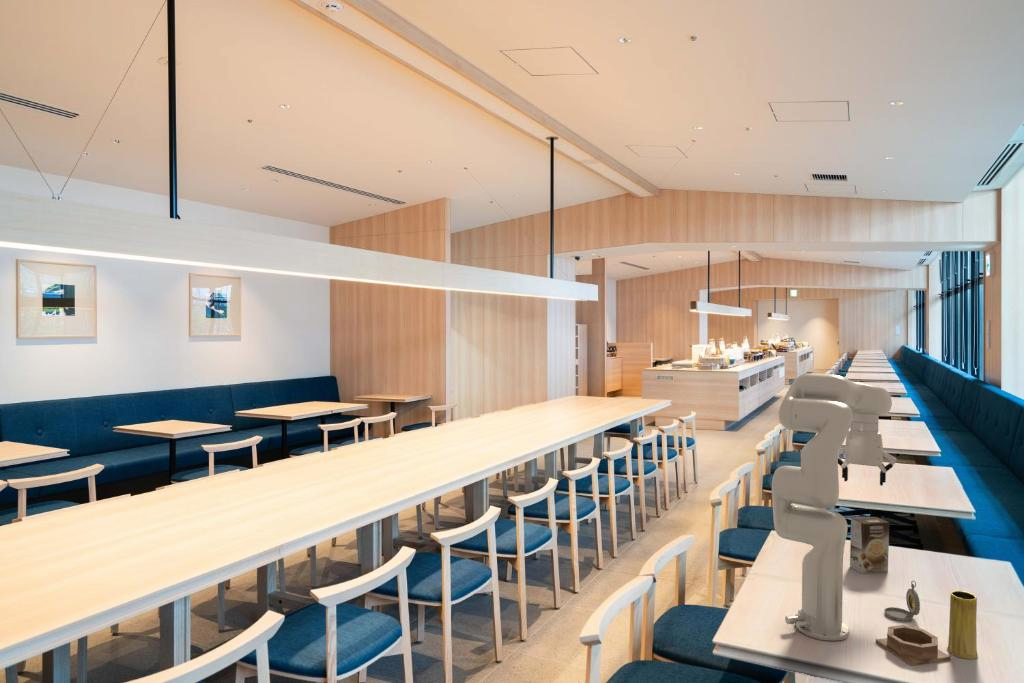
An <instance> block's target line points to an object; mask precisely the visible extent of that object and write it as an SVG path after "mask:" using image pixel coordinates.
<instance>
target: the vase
mask: <svg viewBox="0 0 1024 683" xmlns="http://www.w3.org/2000/svg"><path fill="white" fill-rule="evenodd" d="M949 599H950V600H949V601H950V602H949V604H950V605H949V623H948V625H949V626H948V627H949V628H948V629H949V630H948V642H947V647H946V650H947V651H948V652H949V653H950V654H951V655H953V656H955V657H957V658H961V659H966V660H974V659H976V658H978V656H979V654H978V650H977V649H978V648H977V642H978V641H977V638H978V637H977V636H978V635H977V608H978V606H977V605H978V603H977V602H978V597H977V596H976V595H975V594H973V593H970V592H968V591H964V590H963V591H962V590H952V591H951V592H950V597H949Z"/></svg>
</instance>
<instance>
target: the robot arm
mask: <svg viewBox="0 0 1024 683" xmlns="http://www.w3.org/2000/svg"><path fill="white" fill-rule="evenodd" d="M892 401H893V400H892V396H891V394H890V392H889V391H888V390H886V389H885V388H884V387H880V386H877V385H876V386H875V385H870V384H865V383H861V382H856V381H852V380H850V379H849V378H846V377H845V376H841V375H837V374H827V373H825V374H823V373H806V372H805V373H802V374H799V375H798V376H797V377H796V378H795V379H794V380H793V381H792V382H791V385H790V386H789V388H788V390H787V392H786V394H785V396H784V398H783V400H781V403H780V406H779V410H778V420H779V422H780V424H781V426H782V427H783V428H785V429H787V430H790V431H797V432H805V433H806V432H807V433H816V434H815V435H813V437H812V438H811V439H809V440H808V441H807V443H805V445H804V446H803V447H802V449H801V451H800V466H796V465H795V466H793V465H780V466H778V467H777V468H776V469H775V471H774V473H773V476H772V480H771V501H772V514H773V524H774V525H773V526H774V531H775V533H776V534H777V536H778V537H780V538H782V539H785V540H789V541H793V542H798V543H803V544H807V545H809V546H812V549H810V550H809V551H808V552H807V553H806V554H805V555H804V556H803V558H802V561H801V562H802V563H801V569H802V570H801V574H802V575H801V609H800V608H799V609H798V610H797V613H796V614H795V615H787V616H785V618H784V621H785V623H786V624H787V625H793V624H795V625H794V626H795V627H796V629H797V630H798V631H799V632H800V633H802V634H804V635H806V636H808V637H810V638H814V639H816V640H817V639H818V640H821V641H831V642H832V641H841V640H845V639H846V638H848V636H849V635H850V633H849V632H850V631H849V630H850V629H849V627H848V626H847V624H845V623H844V622H843V590H844V589H843V585H844V583H843V582H844V580H843V579H844V574H843V572H844V555H845V554H844V552H845V545H846V542H847V541H846V540H847V535H848V522H847V520H846V517H844V516H843V515H842V514H840V513H838V512H837V511H834V510H830V509H831V508H833V507H834V506H836V505H837V504H838V502H839V499H840V497H839V496H840V484H839V483H840V482H839V480H840V478H839V466H840V468H841V470H842V471H841V472H842V474H841V477H842V478H843V479H844V480H843V481H844V482H848V480H849V467H848V466H849V464H850V465H858V466H867V467H868V466H869V467H877V468H879V470H880V471H879V486H881V487H882V486H883V485H884V483H886V479H887V478H886V477H887V476H886V475H887V474H886V473H887V472H888V471H889V470H890V469H892V468H893V467H894V466H895V464H896V462H897V458H896V457H895V456H893V455H891V454H889V453H887V452H886V451H884V444H883V438H882V433H881V432H880V431H879V422H880V421H879V417H883V416H887V415H888V414H889V413H890V411H891V409H892V407H893V402H892ZM844 442H845V447H843V448H842V446H843V444H844ZM842 454H844V460H842V459H841V458H840V455H842ZM884 458H885V459H886V460H889V462H888V464H886V465H884V463H883V461H884ZM828 508H830V509H828Z"/></svg>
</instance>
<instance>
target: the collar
mask: <svg viewBox="0 0 1024 683" xmlns="http://www.w3.org/2000/svg"><path fill="white" fill-rule="evenodd" d="M938 640H939V639H938V636H936V635H934V634H932V633H931V632H928V630H925V629H924V628H919V627H914V626H910V625H905V624H900V625H899V624H898V625H893V626H888V627H887V633H886V637H884V638H877V639H875V643H876V644H877V645H879V646H880V647H882V648H883V649H885V650H886V651H887V652H890V653H891V654H892V655H894V656H896V657H897V658H898V659H900V660H902V661H903V662H905V663H906V664H907V665H909V666H911V667H912V666H919V665H925V664H932V663H939V662H946V661H951V656H950V655H949V654H947V653H945V652H944V651H942V650H940V649H938V648H939V646H938V645H939V644H938V643H939V641H938Z"/></svg>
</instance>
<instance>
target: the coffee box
mask: <svg viewBox="0 0 1024 683" xmlns="http://www.w3.org/2000/svg"><path fill="white" fill-rule="evenodd" d="M889 541H890V522H889V521H887V520H885V519H883V518H880V517H877V516H860V517H859V516H858V517H857V516H856V517H850V541H849V542H850V545H849V546H850V548H849V549H850V550H849V552H850V553H849V554H850V555H849V567H850V568H852V569H854V570H855V571H857V572H859V573H861V574H875V573H876V574H877V573H888V572H889V552H890V551H889V547H890V546H889V545H890V544H889V543H890V542H889Z"/></svg>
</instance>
